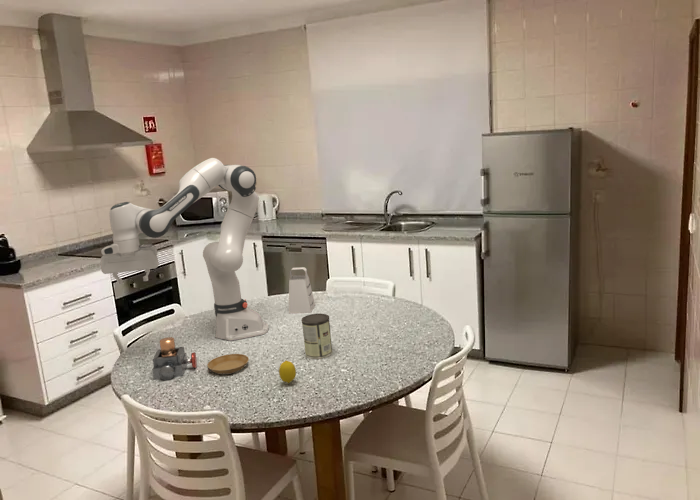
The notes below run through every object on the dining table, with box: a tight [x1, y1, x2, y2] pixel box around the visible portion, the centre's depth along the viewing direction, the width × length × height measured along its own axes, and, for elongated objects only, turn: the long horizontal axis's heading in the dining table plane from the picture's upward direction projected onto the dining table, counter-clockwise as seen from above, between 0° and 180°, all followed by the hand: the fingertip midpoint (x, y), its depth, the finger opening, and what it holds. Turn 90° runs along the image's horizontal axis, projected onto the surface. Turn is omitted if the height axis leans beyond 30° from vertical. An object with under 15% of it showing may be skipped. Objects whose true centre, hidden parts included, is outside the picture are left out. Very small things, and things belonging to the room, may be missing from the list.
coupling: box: [159, 336, 176, 357], centre depth 205 cm, size 5×5×8 cm
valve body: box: [152, 346, 198, 381], centre depth 206 cm, size 16×14×7 cm
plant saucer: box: [206, 353, 250, 375], centre depth 205 cm, size 15×15×3 cm
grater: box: [288, 266, 316, 315], centre depth 263 cm, size 10×10×20 cm
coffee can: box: [301, 313, 333, 360], centre depth 209 cm, size 10×10×14 cm
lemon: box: [278, 360, 297, 384], centre depth 187 cm, size 6×6×8 cm
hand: (133, 282), depth 213 cm, fingers open, 8 cm apart
